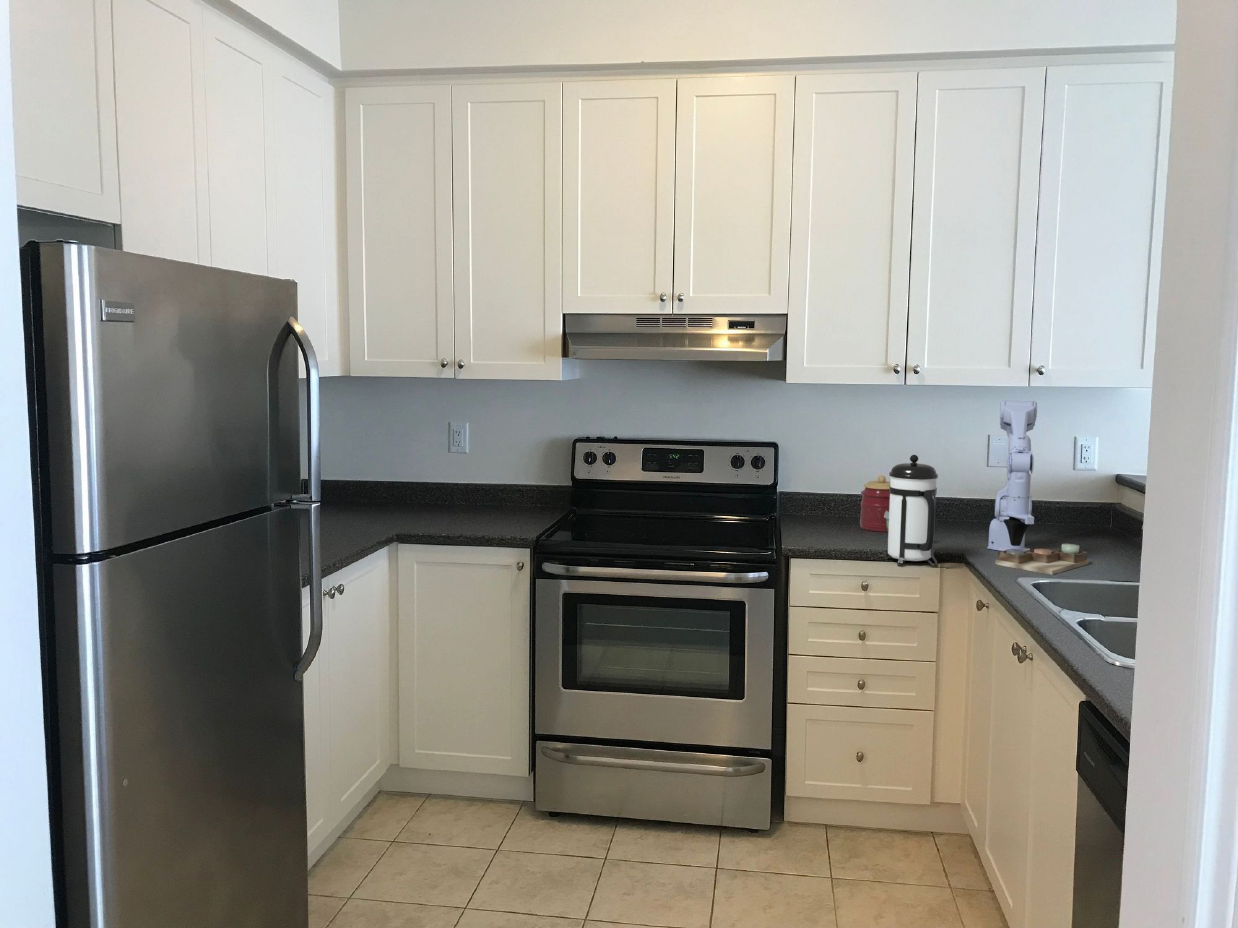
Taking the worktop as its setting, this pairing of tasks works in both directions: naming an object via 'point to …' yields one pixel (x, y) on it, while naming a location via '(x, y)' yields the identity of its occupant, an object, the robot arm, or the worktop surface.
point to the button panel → (1043, 561)
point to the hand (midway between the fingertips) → (1015, 545)
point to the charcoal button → (1015, 551)
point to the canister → (875, 505)
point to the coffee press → (912, 512)
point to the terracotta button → (1042, 551)
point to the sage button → (1070, 548)
